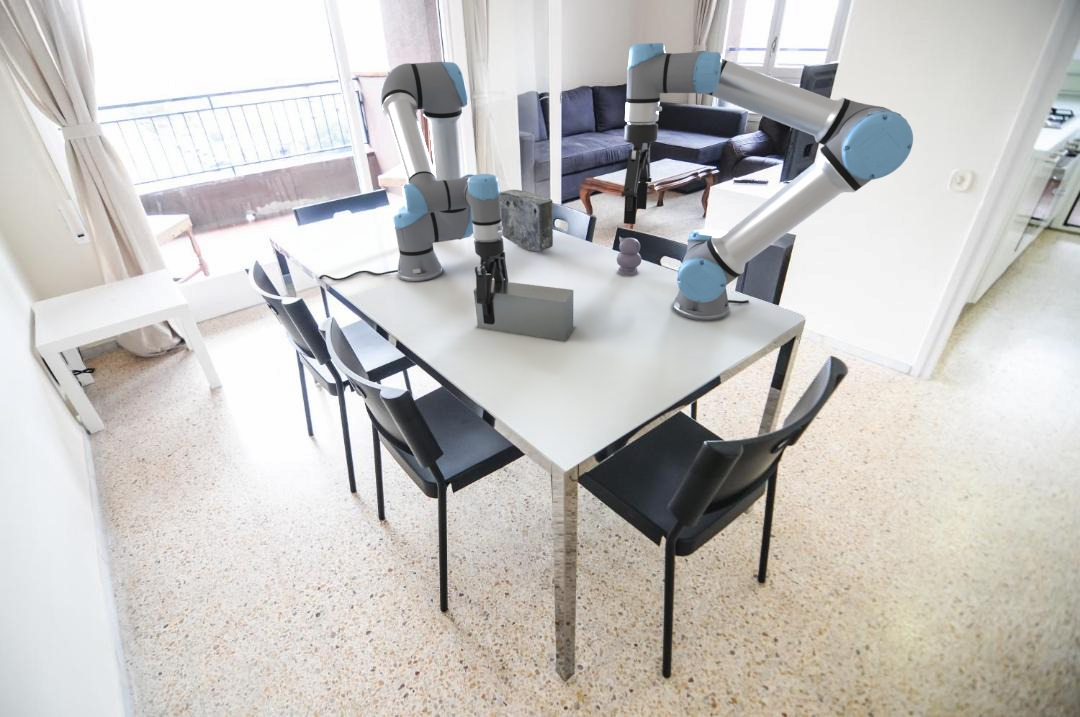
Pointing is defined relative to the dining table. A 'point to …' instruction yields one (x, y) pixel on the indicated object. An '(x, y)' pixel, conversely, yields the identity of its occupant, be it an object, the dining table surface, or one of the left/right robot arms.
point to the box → (529, 310)
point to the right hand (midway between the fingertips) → (635, 215)
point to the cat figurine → (628, 256)
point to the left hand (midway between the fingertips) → (495, 316)
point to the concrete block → (527, 219)
